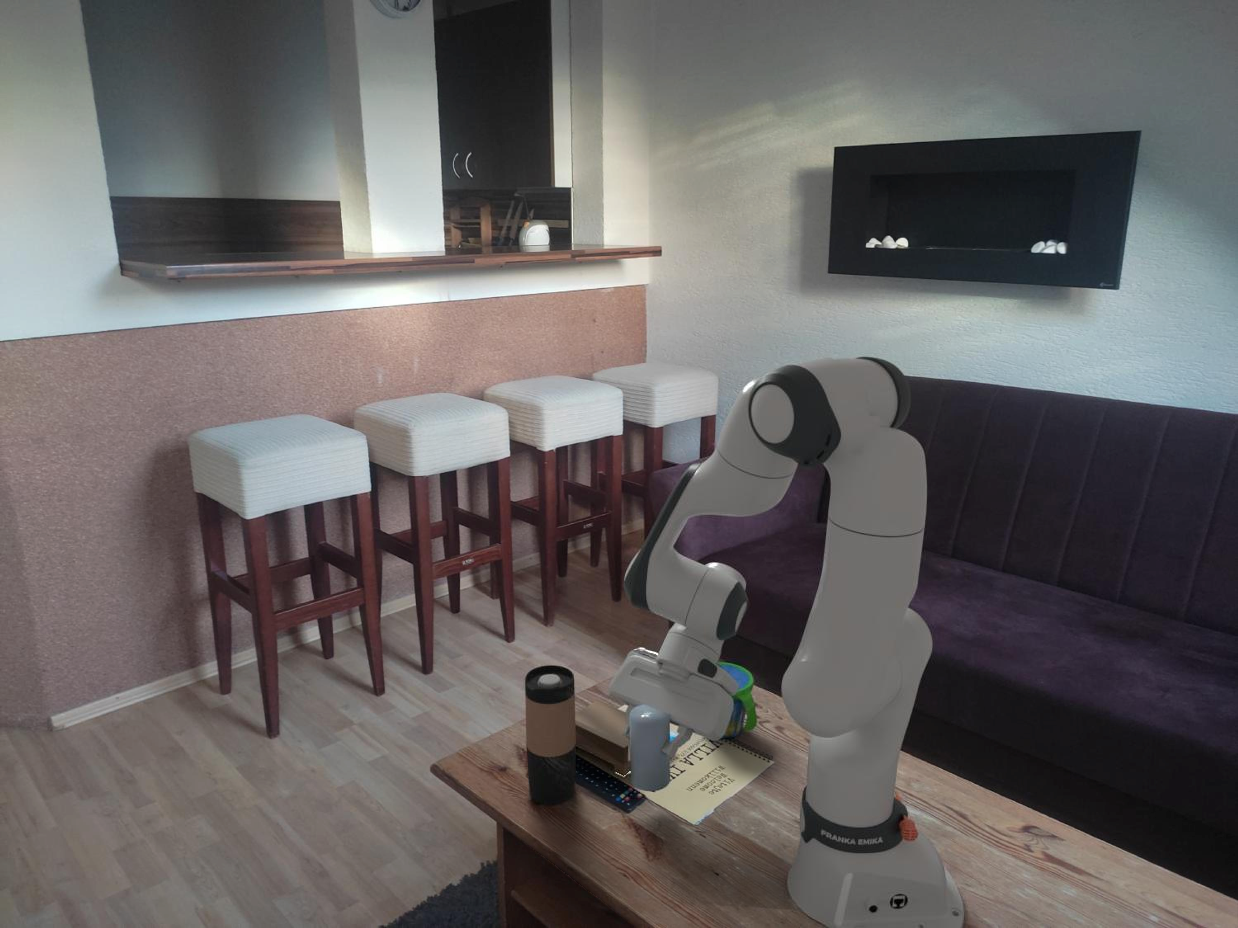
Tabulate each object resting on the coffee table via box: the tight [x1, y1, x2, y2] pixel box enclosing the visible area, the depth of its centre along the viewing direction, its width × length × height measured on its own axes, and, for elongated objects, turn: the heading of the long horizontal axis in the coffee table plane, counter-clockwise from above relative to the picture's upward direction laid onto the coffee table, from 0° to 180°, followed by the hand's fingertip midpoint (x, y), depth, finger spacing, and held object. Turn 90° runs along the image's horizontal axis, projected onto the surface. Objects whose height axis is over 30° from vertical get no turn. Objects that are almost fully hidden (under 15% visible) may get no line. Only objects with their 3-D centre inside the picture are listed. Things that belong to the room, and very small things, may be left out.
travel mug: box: [524, 664, 577, 806], centre depth 138 cm, size 8×8×20 cm
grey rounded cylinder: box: [629, 704, 671, 792], centre depth 134 cm, size 6×6×11 cm
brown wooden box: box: [575, 699, 631, 776], centre depth 152 cm, size 12×16×6 cm
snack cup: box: [717, 661, 758, 739], centre depth 156 cm, size 16×10×10 cm
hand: (647, 746), depth 134 cm, fingers closed on grey rounded cylinder, 6 cm apart
